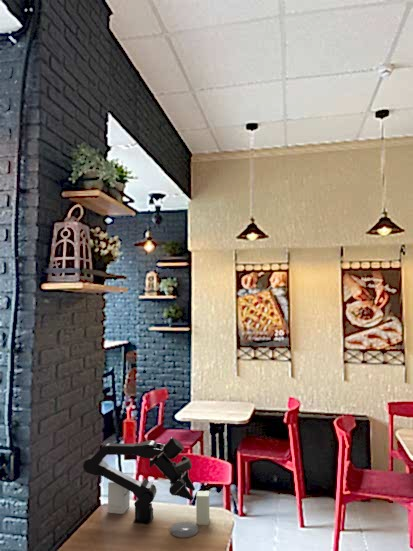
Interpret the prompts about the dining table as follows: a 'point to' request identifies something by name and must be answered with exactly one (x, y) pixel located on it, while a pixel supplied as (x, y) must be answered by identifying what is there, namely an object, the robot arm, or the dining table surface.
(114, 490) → the supplement box
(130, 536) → the dining table surface
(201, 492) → the block
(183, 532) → the slate coaster
